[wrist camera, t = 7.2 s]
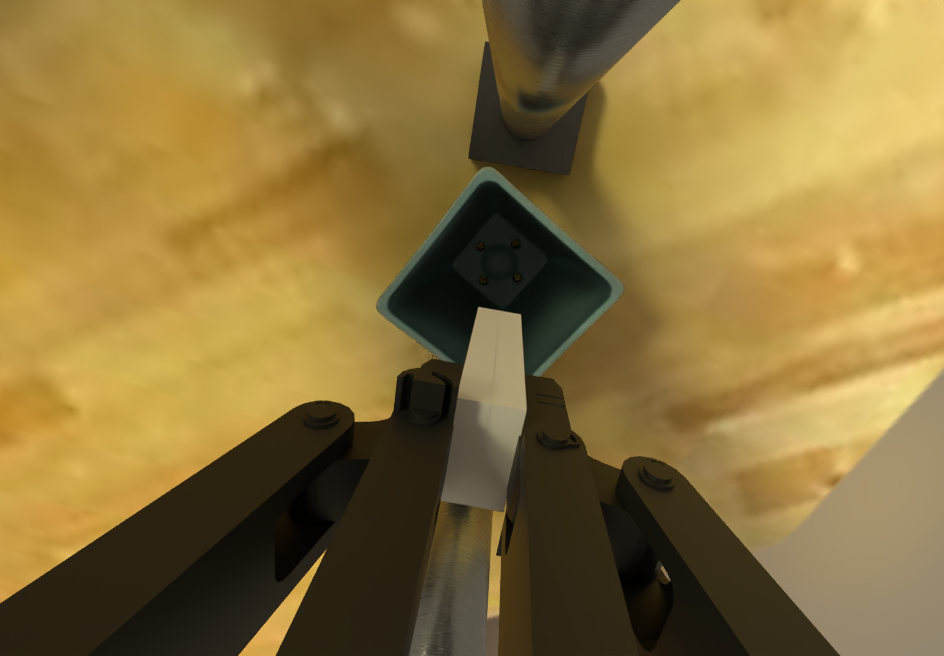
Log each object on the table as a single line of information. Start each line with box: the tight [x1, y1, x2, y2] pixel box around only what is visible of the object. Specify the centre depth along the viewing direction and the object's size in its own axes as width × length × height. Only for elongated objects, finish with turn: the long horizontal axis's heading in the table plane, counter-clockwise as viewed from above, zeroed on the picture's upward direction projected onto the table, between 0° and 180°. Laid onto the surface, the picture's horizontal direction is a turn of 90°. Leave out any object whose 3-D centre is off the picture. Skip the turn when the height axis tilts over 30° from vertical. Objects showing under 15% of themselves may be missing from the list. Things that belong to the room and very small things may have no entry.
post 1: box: [409, 359, 493, 656], centre depth 21 cm, size 6×6×26 cm
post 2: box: [468, 0, 680, 175], centre depth 15 cm, size 6×6×26 cm
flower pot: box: [376, 167, 624, 377], centre depth 26 cm, size 9×9×9 cm
